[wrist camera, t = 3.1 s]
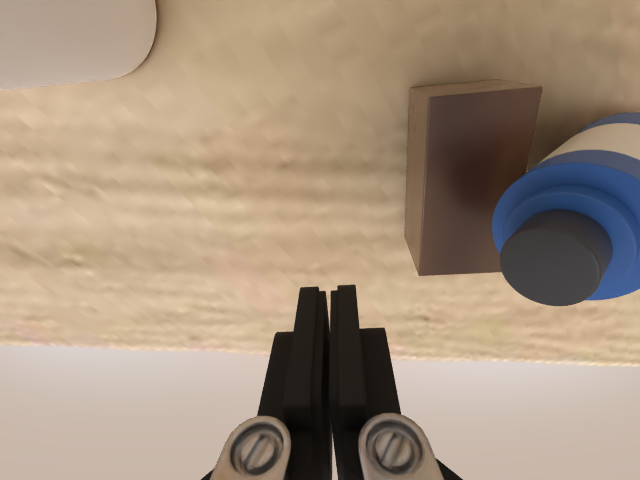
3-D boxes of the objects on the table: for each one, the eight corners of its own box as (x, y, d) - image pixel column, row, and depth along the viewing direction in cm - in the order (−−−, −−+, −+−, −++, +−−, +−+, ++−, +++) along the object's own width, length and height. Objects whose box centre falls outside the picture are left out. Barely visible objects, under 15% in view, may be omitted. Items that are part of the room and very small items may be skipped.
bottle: (653, 104, 19) (1080, 173, 8) (620, 197, 22) (903, 347, 11) (437, 121, 21) (543, 202, 9) (431, 208, 24) (507, 350, 12)
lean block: (497, 79, 19) (543, 86, 15) (475, 233, 24) (505, 272, 20) (408, 87, 20) (428, 96, 15) (404, 237, 25) (418, 276, 20)
